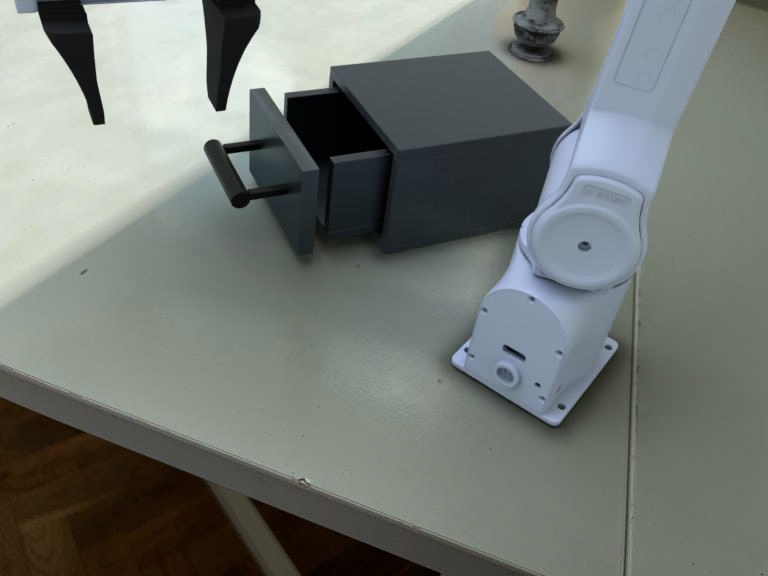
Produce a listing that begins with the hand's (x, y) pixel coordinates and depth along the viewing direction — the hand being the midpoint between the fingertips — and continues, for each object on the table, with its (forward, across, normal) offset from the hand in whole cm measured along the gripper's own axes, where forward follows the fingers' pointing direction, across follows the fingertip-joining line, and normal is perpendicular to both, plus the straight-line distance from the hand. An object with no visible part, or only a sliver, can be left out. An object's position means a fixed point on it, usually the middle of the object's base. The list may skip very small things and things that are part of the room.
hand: (158, 110), depth 51 cm
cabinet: (+10, -22, 0) cm, 24 cm away
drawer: (+10, -12, 0) cm, 16 cm away
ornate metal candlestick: (+11, -46, -22) cm, 52 cm away
